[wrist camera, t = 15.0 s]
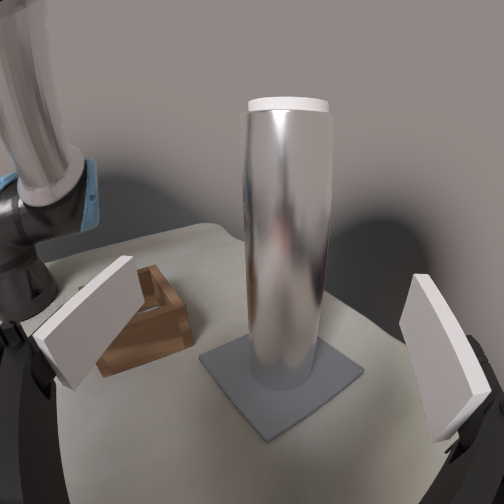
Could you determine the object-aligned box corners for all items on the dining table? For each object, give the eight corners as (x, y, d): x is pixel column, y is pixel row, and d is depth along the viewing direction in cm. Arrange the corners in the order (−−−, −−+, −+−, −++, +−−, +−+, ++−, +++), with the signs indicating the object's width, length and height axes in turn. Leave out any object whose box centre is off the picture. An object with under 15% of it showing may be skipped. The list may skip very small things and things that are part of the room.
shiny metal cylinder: (271, 339, 31) (270, 105, 21) (321, 359, 28) (344, 104, 18) (237, 373, 27) (219, 99, 16) (292, 400, 23) (310, 90, 13)
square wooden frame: (91, 322, 35) (78, 287, 32) (162, 299, 41) (155, 264, 38) (103, 377, 26) (83, 339, 23) (193, 345, 32) (185, 305, 29)
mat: (199, 359, 29) (198, 355, 29) (287, 318, 36) (287, 315, 36) (266, 442, 19) (267, 440, 19) (363, 373, 26) (364, 369, 26)
